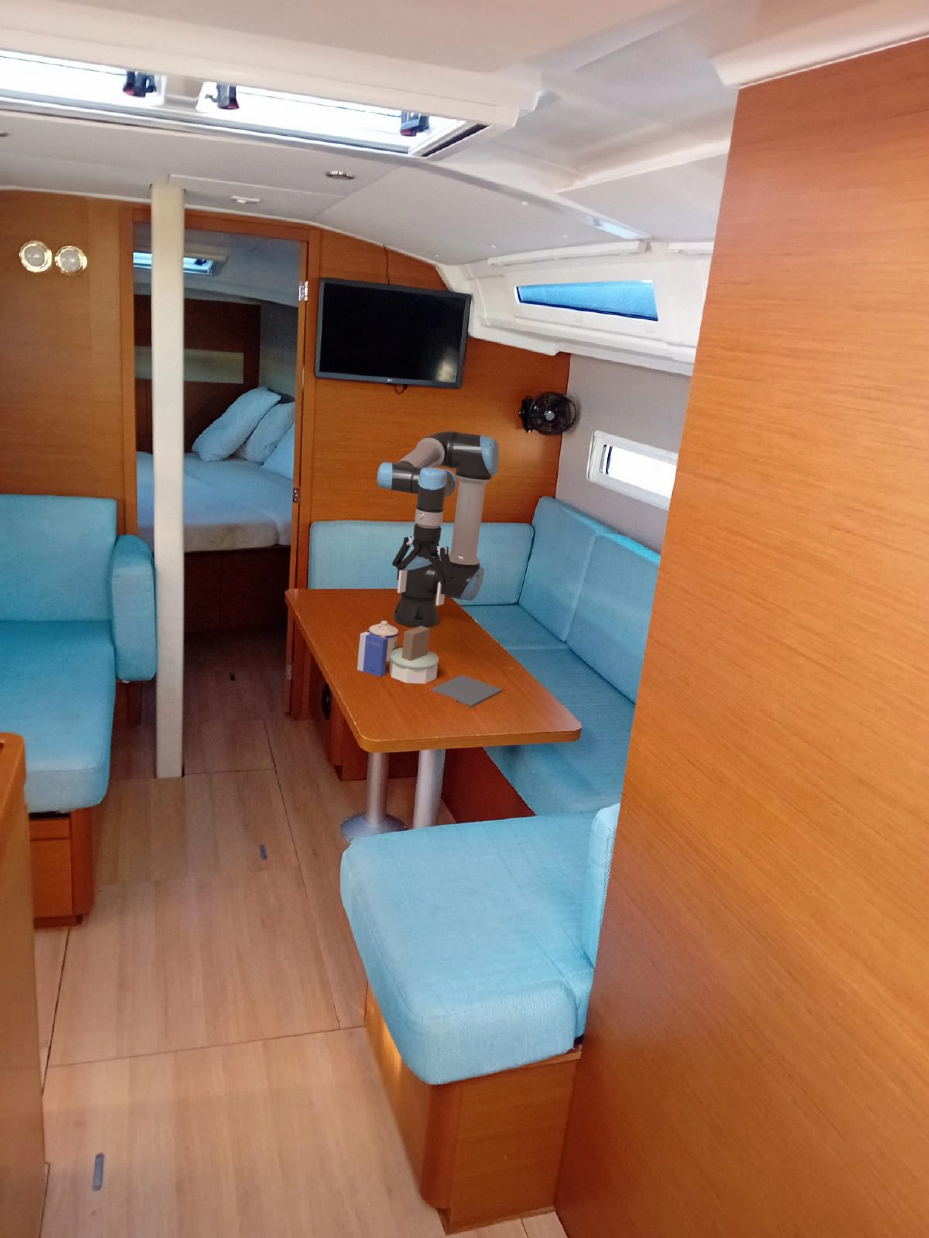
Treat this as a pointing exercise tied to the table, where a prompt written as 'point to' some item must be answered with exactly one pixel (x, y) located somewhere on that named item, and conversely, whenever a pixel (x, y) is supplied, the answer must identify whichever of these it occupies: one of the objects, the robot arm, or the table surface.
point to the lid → (415, 650)
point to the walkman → (372, 653)
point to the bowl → (412, 674)
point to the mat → (467, 690)
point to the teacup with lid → (386, 635)
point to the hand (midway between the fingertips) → (420, 598)
